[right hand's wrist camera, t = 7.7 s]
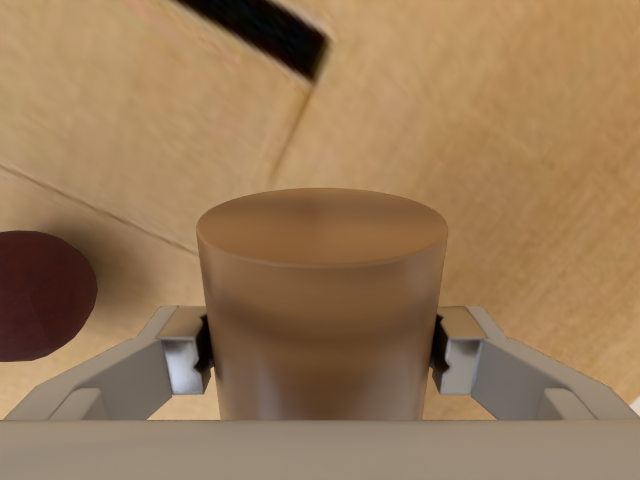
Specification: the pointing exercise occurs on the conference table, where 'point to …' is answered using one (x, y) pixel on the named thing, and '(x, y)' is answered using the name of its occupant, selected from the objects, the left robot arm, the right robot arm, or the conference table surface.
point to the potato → (41, 294)
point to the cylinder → (321, 303)
